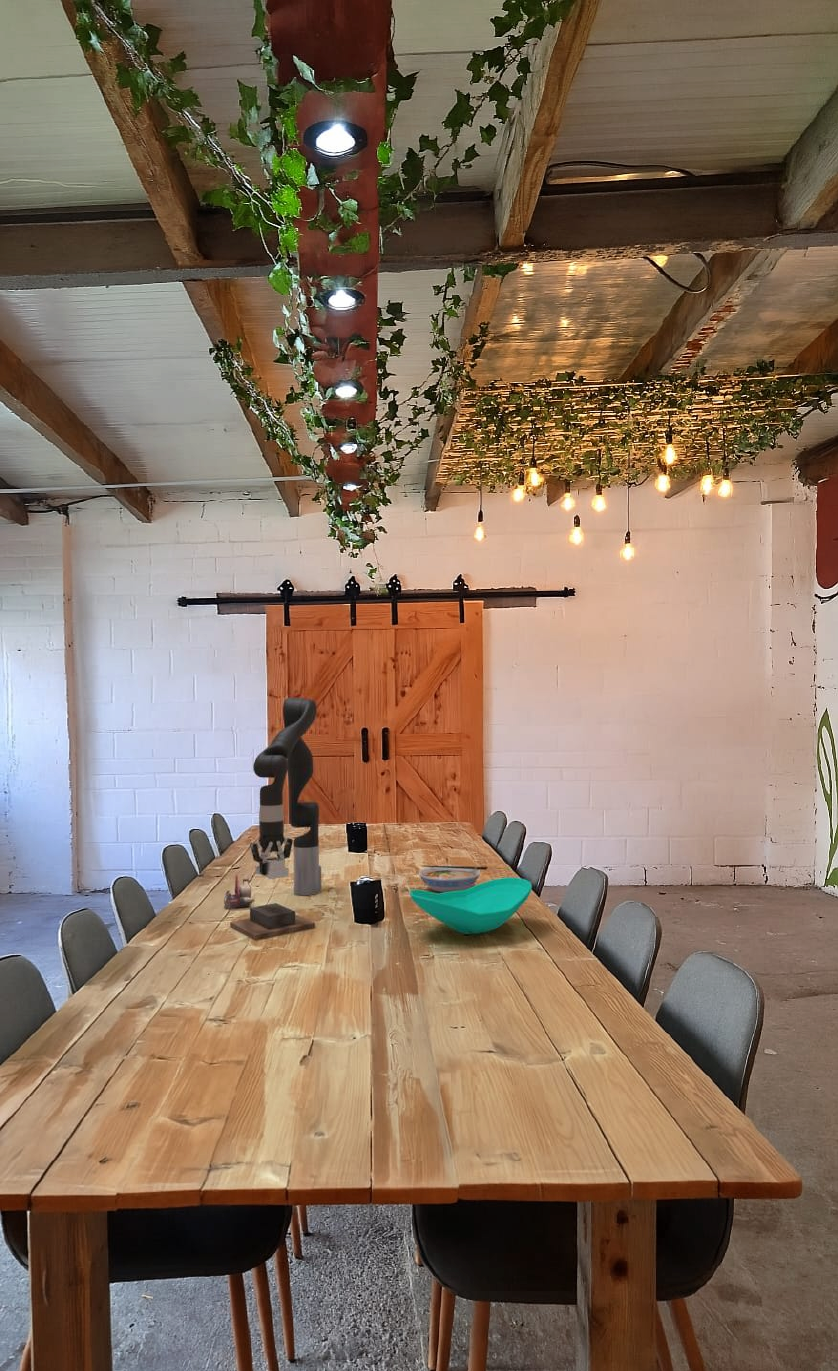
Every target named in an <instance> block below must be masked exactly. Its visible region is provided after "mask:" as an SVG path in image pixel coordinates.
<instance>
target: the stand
mask: <svg viewBox="0 0 838 1371" xmlns="http://www.w3.org/2000/svg"><path fill="white" fill-rule="evenodd" d="M249 908H250V909H249V918H245V919H239V920H234V921H230V922H229V927H230V928H231V929H233V930H235V931H236V932H238V933H241V934H242V935H245V936H246V937H248V938H251V939H252V940H254V941H259V940H264V939H269V938H273V937H279V936H283V935H287V934H292V933H296V932H301V931H306V930H310V929H311V930H312V929H315V928H316V923H315V922H314V921H311V920H309V919H307V918H305V917H303V916H300V915H297V914H296V911H295V910H293V909H291V908H288V907H286V906H284V905H281V904H278V903H276V902H274V903H269V904H263V905H256V906H253V907H249Z"/></svg>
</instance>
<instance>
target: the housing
mask: <svg viewBox="0 0 838 1371" xmlns="http://www.w3.org/2000/svg"><path fill="white" fill-rule="evenodd" d="M254 867H255V868H254V869H255V870H254V872H255V875H260V876H263V877H265V878H267V879H268V880H274V879H280V878H287V877H289V876H290V873H289V872H290V870H289V867H286V859H285V860H284V859H281V858H278V857H277V856H274V855H270V856H268V857H267V860H266V875H262V874H261V873H260V863H259V862H258V865H255V866H254Z"/></svg>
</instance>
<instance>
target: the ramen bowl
mask: <svg viewBox="0 0 838 1371" xmlns="http://www.w3.org/2000/svg"><path fill="white" fill-rule="evenodd" d="M422 867H425V868H422V869H419V870H418V874H419V877H420V879H421V880H422V882H423V883H424V884H425V885H426V887H428V888H430V889H431V890H433V891H436V892H439V893H445V892H452V891H461V890H466V889H469V888H471V887H473V886H474V884H475V883H476V882H477V880H478V879H479V877H480V875H481V871H482V870H484V871H486V870H488V866H470V865H469V866H465V865H422Z"/></svg>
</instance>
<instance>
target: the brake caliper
mask: <svg viewBox="0 0 838 1371" xmlns="http://www.w3.org/2000/svg"><path fill="white" fill-rule="evenodd" d="M249 879H250V878H249V877H248V876H247V877H246V876H243V878H242V884H239V875H238V873H236V874H235V882H234V883H235V884H234V894H232V893H231V892H230V890H229V889H228V890H226V893H225V895H224V899H223V904H224V906H225V908H226V909H227V910H229V911H230V912H232V911H233V912H235V911H245V910H250V908H251V907H250V906H251V904H252V903H254V902H255V898H253V897H252V886H251V885H250V883H249V882H250V880H249Z"/></svg>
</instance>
